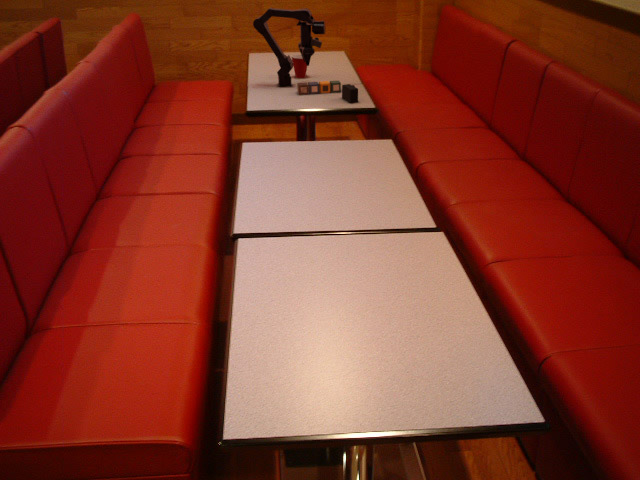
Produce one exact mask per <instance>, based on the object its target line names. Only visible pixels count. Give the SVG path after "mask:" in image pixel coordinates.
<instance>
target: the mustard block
mask: <svg viewBox="0 0 640 480" xmlns="http://www.w3.org/2000/svg"><path fill="white" fill-rule="evenodd" d="M318 83H319V94H330V93H331V91H330V81H328V80H325V81H324V80H322V81H318Z"/></svg>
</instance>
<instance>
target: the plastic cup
mask: <svg viewBox="0 0 640 480" xmlns="http://www.w3.org/2000/svg"><path fill="white" fill-rule="evenodd" d="M290 58H291V59H292V60H293V71H294V76H295V78H296V79H303V78H304V79H305V78H306V76H307V70H308V66H307V65H306V62H304V60H303V58H302V55H301V54H292V55H290Z"/></svg>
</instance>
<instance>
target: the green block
mask: <svg viewBox="0 0 640 480" xmlns="http://www.w3.org/2000/svg"><path fill="white" fill-rule="evenodd" d="M329 83H330V93H332V94H333V93H342V83H341V81H340V80H338V79H337V80H329Z"/></svg>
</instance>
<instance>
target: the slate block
mask: <svg viewBox="0 0 640 480" xmlns="http://www.w3.org/2000/svg"><path fill="white" fill-rule="evenodd" d="M307 84H308V94H309V95H319V94H320V91H319V81H309V82H307Z"/></svg>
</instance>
